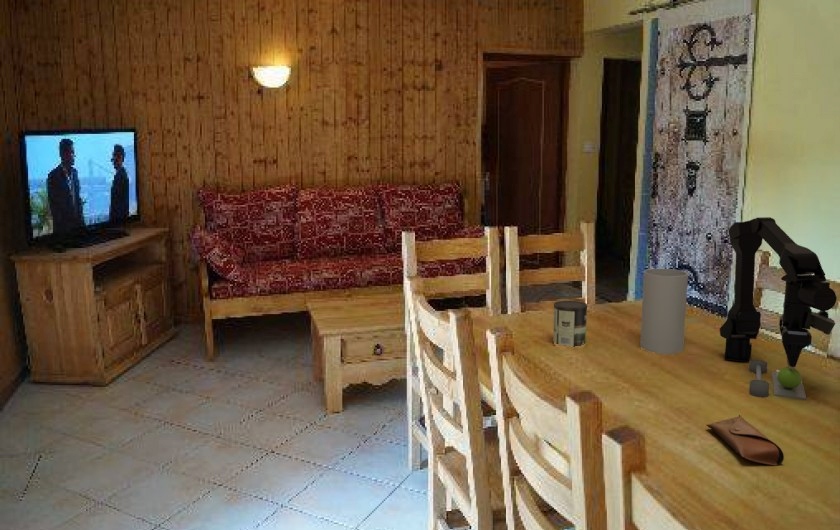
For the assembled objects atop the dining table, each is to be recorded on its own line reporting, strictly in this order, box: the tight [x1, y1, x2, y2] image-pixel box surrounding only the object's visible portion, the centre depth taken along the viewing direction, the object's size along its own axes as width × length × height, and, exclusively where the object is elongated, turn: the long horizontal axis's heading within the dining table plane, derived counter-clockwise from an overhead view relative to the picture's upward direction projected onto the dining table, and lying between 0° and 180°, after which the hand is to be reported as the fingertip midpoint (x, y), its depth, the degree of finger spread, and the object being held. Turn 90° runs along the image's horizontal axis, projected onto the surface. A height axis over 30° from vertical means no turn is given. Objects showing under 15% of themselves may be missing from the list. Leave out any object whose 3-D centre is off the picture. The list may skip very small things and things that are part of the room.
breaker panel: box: [771, 369, 807, 401], centre depth 181 cm, size 7×18×3 cm, turn 155°
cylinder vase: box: [639, 268, 689, 355], centre depth 212 cm, size 12×12×25 cm
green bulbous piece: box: [778, 357, 803, 389], centre depth 178 cm, size 5×6×12 cm
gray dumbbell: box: [748, 359, 770, 398], centre depth 184 cm, size 4×22×4 cm, turn 155°
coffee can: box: [552, 300, 588, 347], centre depth 219 cm, size 10×10×14 cm
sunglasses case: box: [706, 414, 785, 467], centre depth 148 cm, size 18×7×7 cm
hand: (791, 361), depth 177 cm, fingers open, 9 cm apart
